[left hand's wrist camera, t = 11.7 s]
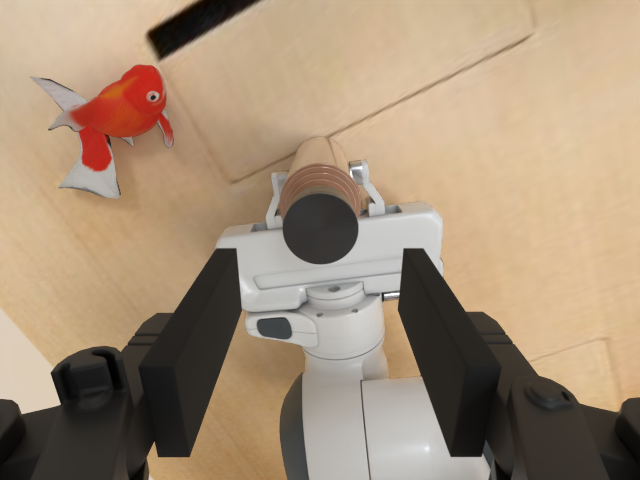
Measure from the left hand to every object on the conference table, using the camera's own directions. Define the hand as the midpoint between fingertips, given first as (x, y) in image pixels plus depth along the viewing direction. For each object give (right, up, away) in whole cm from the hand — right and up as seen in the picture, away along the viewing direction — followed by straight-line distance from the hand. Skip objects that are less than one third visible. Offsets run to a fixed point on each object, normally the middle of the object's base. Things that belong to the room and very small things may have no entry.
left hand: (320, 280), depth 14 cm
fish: (-19, +12, +22) cm, 32 cm away
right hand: (0, +8, +17) cm, 19 cm away
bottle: (0, +9, +24) cm, 25 cm away
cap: (0, +2, +5) cm, 6 cm away
